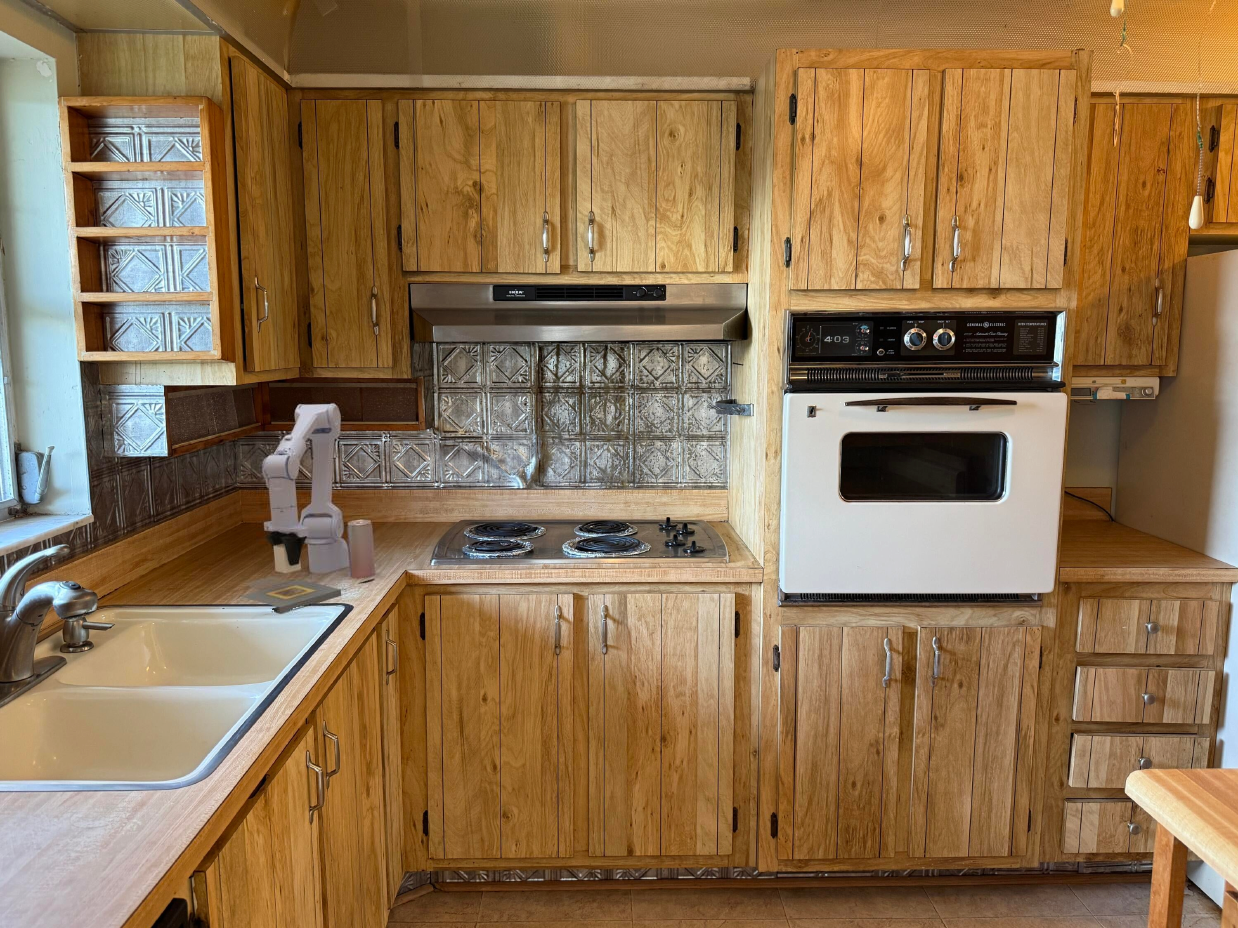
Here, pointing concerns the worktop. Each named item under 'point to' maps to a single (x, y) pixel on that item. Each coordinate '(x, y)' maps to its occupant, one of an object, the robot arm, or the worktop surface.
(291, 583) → the hole board
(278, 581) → the tab
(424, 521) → the worktop surface
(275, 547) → the peg
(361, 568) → the beverage can
